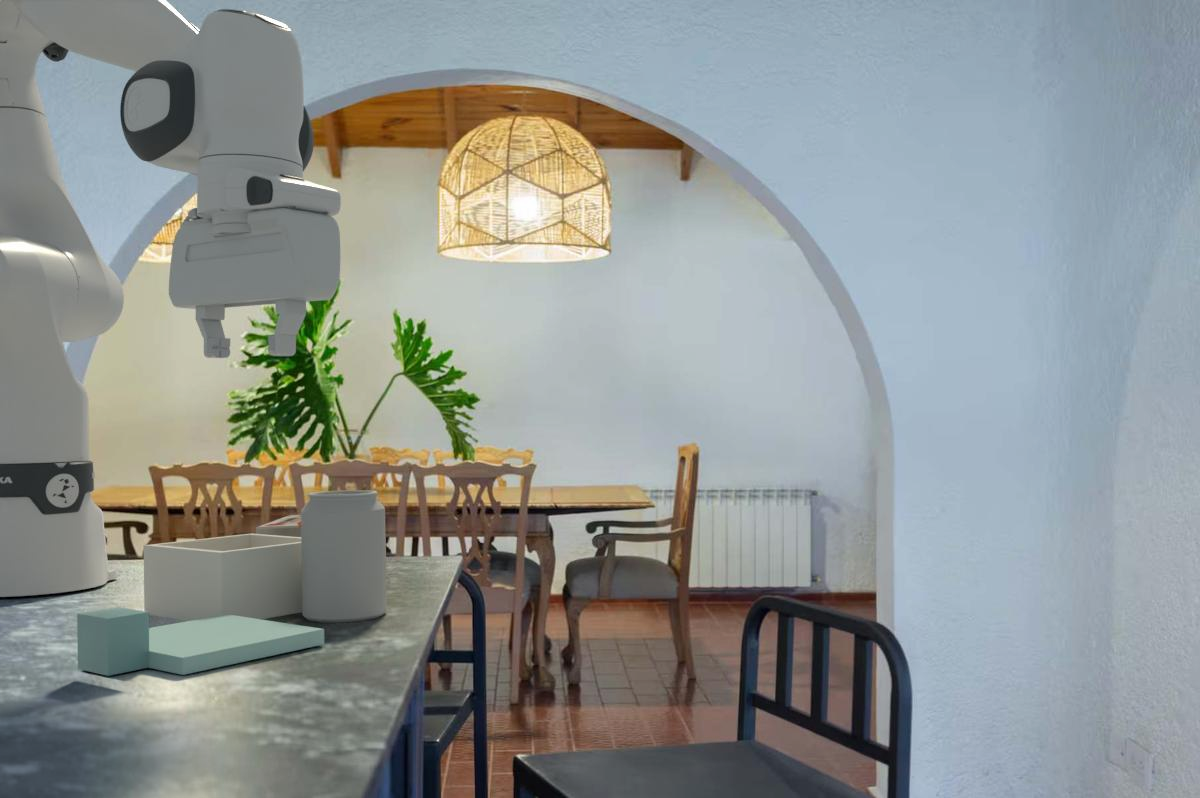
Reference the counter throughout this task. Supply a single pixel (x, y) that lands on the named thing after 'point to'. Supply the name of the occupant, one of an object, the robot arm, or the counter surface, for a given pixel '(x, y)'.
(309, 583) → the can
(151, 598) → the tub
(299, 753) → the counter surface
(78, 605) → the counter surface
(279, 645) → the lid
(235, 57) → the robot arm
